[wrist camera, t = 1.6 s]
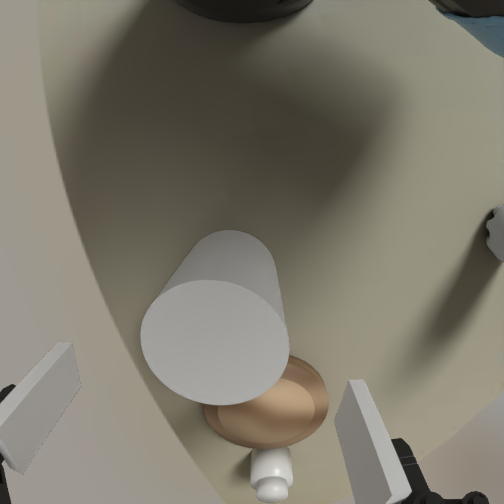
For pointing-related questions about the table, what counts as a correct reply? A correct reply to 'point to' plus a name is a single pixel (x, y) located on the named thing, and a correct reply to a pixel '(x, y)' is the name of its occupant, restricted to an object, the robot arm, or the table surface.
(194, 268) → the white cylindrical piece
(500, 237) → the bottle
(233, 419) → the brown wooden plate
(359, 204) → the table surface
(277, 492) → the white knobbed rounded part
